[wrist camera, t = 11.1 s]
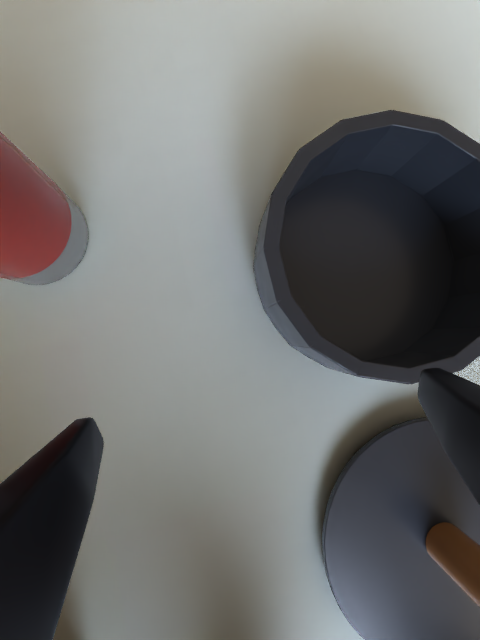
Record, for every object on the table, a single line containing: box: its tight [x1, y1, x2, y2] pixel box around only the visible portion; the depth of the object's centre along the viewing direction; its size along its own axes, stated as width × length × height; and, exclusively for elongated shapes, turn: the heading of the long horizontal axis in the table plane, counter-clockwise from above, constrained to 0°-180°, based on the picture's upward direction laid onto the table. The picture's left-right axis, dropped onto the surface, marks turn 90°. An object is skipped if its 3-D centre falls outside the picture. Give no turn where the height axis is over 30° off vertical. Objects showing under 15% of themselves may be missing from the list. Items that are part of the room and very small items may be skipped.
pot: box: [253, 110, 480, 384], centre depth 19 cm, size 14×14×5 cm
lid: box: [322, 418, 480, 640], centre depth 18 cm, size 15×15×6 cm
